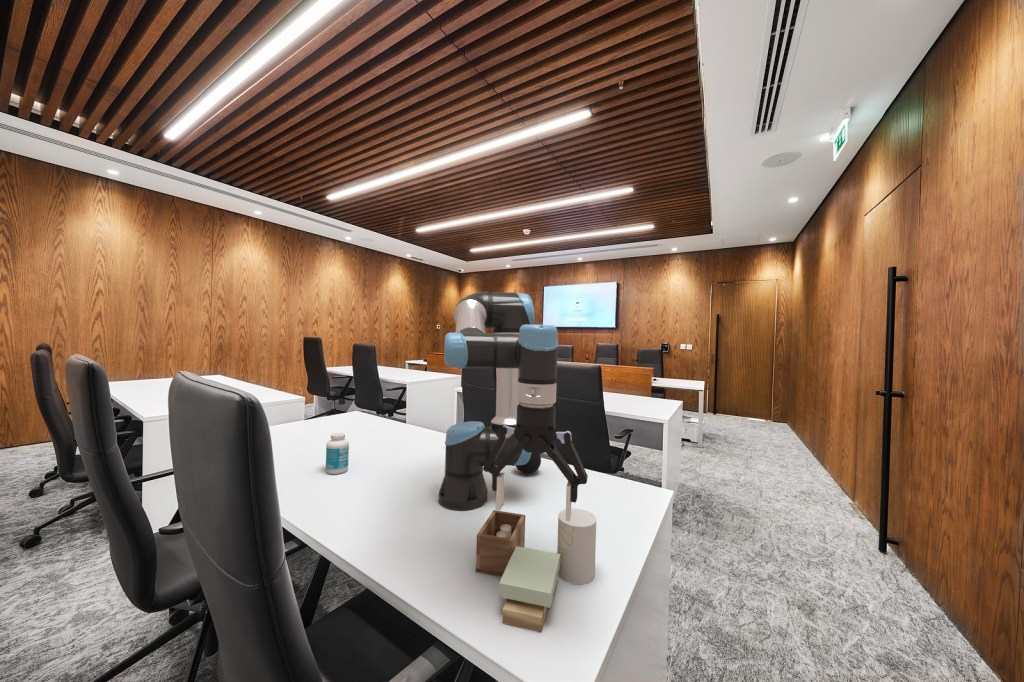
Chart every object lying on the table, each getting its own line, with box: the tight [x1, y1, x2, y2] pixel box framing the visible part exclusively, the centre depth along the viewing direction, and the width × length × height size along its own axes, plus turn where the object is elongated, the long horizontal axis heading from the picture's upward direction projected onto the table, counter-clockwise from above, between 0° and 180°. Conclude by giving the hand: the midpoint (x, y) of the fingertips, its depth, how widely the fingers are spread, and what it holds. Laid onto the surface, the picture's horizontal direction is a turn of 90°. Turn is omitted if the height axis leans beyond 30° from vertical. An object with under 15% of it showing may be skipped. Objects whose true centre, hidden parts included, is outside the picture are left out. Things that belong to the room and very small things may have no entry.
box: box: [475, 509, 526, 578], centre depth 85 cm, size 12×8×8 cm, turn 165°
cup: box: [556, 508, 597, 585], centre depth 81 cm, size 8×8×12 cm
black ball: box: [514, 452, 542, 475], centre depth 138 cm, size 10×10×10 cm
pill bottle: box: [325, 432, 350, 475], centre depth 135 cm, size 8×7×14 cm
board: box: [501, 598, 548, 633], centre depth 73 cm, size 16×7×2 cm, turn 165°
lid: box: [498, 546, 560, 609], centre depth 73 cm, size 12×10×3 cm
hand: (533, 512), depth 73 cm, fingers open, 13 cm apart
